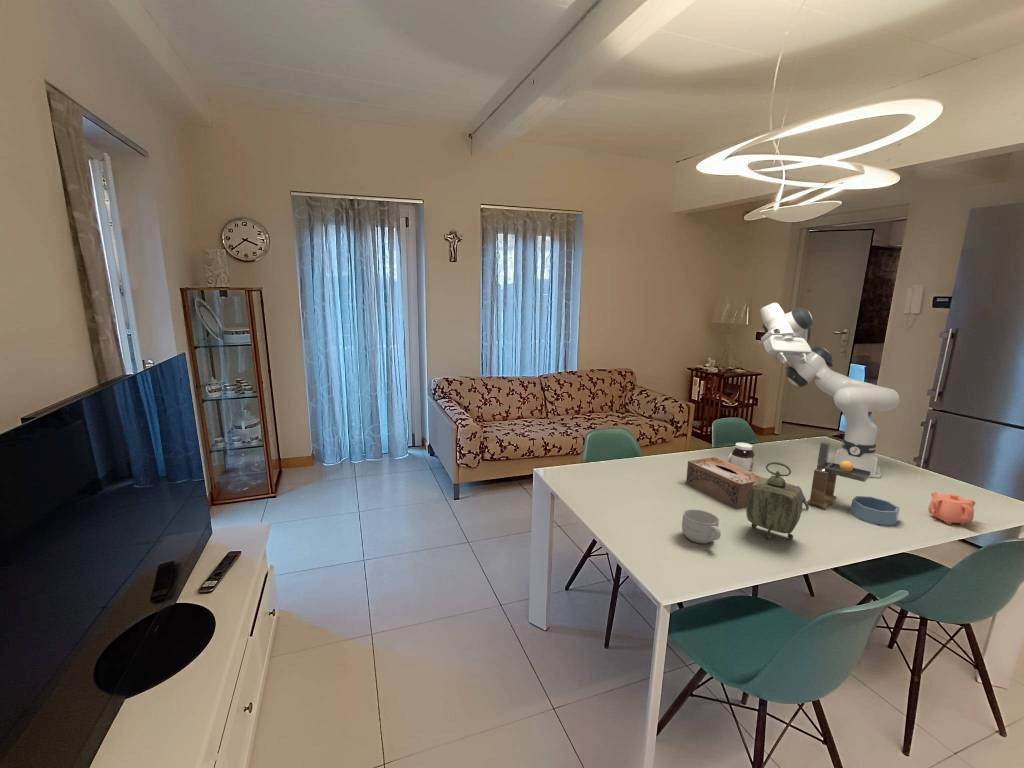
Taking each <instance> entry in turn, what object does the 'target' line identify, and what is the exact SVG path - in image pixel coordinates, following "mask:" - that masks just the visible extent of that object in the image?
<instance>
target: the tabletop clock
mask: <svg viewBox="0 0 1024 768" xmlns="http://www.w3.org/2000/svg"><path fill="white" fill-rule="evenodd" d="M771 465H777V466H782V467H784V468H786V469H787V470H788V473H785V474H784V473H783V474H782V473H780V471H779V470H776V471H775V472H774V471H771V470H770V469H769V468H768V467H769V466H771ZM765 469H766V471H767V472H769V473H770V474H771V476H770V477H769V478H767V477H765V478H759V479H758V480H757V481H756V482H755V483H754V484H753V485H752V486H751V488H750V490H749V492H748V497H747V501H746V508H745V512H746V518H747V521H748V522H750V523H751V527H752V528H755V529H756V528H758V527H759V528H763V529H765V530H767V533H766V534H765V539H767V540H770V539H771V538H772V536H771V531H772V532H777V533H781V534H787V538H788V539H789V540H793V538H794V535H793V534H792V533H793V531H794V530H795V528H796V526H797V524H798V523H799V521H800V519H801V515H802V511H803V505H804V503H803V496H802V492H803V490H802V488H801V487H800V488H801V489H800V488H798V487H797V486H798V485H794V484H792V483H789V482H786V480H785V479H784V478H783V477H788V476H790V474H792V471H791V468H790V466H788V465H786V464H784V463H781V462H777V461H771V462H769V463H767V464H766V465H765ZM801 490H802V491H801Z"/></svg>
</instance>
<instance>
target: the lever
mask: <svg viewBox="0 0 1024 768" xmlns="http://www.w3.org/2000/svg"><path fill="white" fill-rule="evenodd" d="M830 446H831V443H830V442H825V441H821V442H820V443H819V451H818V457H817V458H818V459H817V465H816V469H817V470H821V471H825V472H828V473H830V474H834V475H837V477H838V476H839V477H841V478H842V477H843V478H847V479H851V480H854V481H859V482H863V483H865V482H866V481H867V480H869V478H870V477H869V476H870V473H871V471H866V470H862V469H858V468H853V470H852V471H850V472H844V471H842V470H841V469H840V464H836V463H834V462H831V463H830V464H829V465H828V466H827V462H828V459H829V453H830Z"/></svg>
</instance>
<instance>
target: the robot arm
mask: <svg viewBox="0 0 1024 768" xmlns="http://www.w3.org/2000/svg"><path fill="white" fill-rule="evenodd" d="M759 311H760V316H761V320H762V322H763V323H762V328H763V330H764V331H763V332H765V334H763V336H761V338H760V340H761V342H762V344H763V347H764V349H765V351H766V353H767V354H768V355H773V356H776V357H777V358H778V359H779V360H780V361H781V362H782V364H788V366H786V367H785V369H786V371H785V374H786V375H785V376H786V379H787V380H788V382H789V383H790V384H792V385H793V386H795V387H798V388H803V387H805V386H807V385H809V383H810V382H812V381H813V380H814V384H815V385H816V387H817V388H818V389H820V390H821V391H822V392H824V393H825V394H826V395H829V396H831V397H832V398H833V402H834V403H833V404H834V405H835V406H836V408H838V409H839V410H840V411H841V412H842V414H843V417H844V419H845V429H844V431H845V432H844V437H843V439H842V442H841V448H838V449H837V450H836V455H835V460H834V462H833V463H836V464H841V462H843V461H849V462H851V463H852V465H853V468H858V469H862V470H866V471H871V473H870V476H869V478H876V479H881V478H882V474H881V473H882V472H881V469H882V468H881V466H879V465H877V464H878V458H877V455H876V449H877V444H876V440H877V435H878V425H876V424H875V423H874V421H872V420H870V418H869V413H872V412H873V413H883V412H888V411H889V412H890V411H893V410H895V409H896V408H897V407H898V406H899V405H900V395H899V393H898V392H897V391H896V390H895V389H893V388H888V387H885V386H881V385H877V384H873V383H870V382H866V381H861V380H859V379H854V378H851V377H849V376H847V375H845V374H842V373H839V372H837V371H834V370H833V369H831V368H833V367H834V364H833V359H834V358H833V355H832V354H831V353H830V351H828V349H826V348H824V347H821V346H814V347H812V348H811V346H810V345H809V343H808V342H809V341H810V340H811V339H810V338H811V332H812V331H811V328H812V326H813V323H814V322H813V316H812V314H811V312H810V311H809V310H808V309H807V308H803V307H797V308H795V309H793V310H792V311H790V312H786V313H785V311H784V310H783V308H782V307H781V306H780V304H779V303H778V302H771V303H768V304H765V305H764V306H762V307H761V308H760V310H759Z"/></svg>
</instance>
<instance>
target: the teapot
mask: <svg viewBox="0 0 1024 768" xmlns="http://www.w3.org/2000/svg"><path fill="white" fill-rule="evenodd" d="M930 495H931V497H932V499H931V500H930V502H929V505H928V508H927V509H928V513H929V514H931V515H932V518H935V519H938V518H939V520H942V521H944V524H945V523H946V525H948V524H953V523H955V524H958V523H960V524H959V525H961V524H962V525H961V526H966V525H965V524H969V523H972V521H973V520H974V517H975V509H974V508H975V507H974V506H975V505H976V501H974V500H972V499H966V498H964V497H961V496H959V495H958V494H955V493H949V494H948V493H946V494H944V493H941V494H939V493H938V492H931V493H930Z"/></svg>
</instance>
